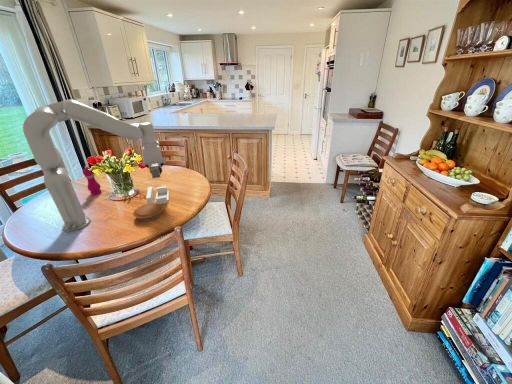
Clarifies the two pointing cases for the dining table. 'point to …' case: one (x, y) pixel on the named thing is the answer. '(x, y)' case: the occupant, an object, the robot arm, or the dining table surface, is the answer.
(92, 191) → the pepper mill
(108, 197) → the dining table surface
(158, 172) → the stop bar
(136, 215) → the pie
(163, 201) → the jamb
